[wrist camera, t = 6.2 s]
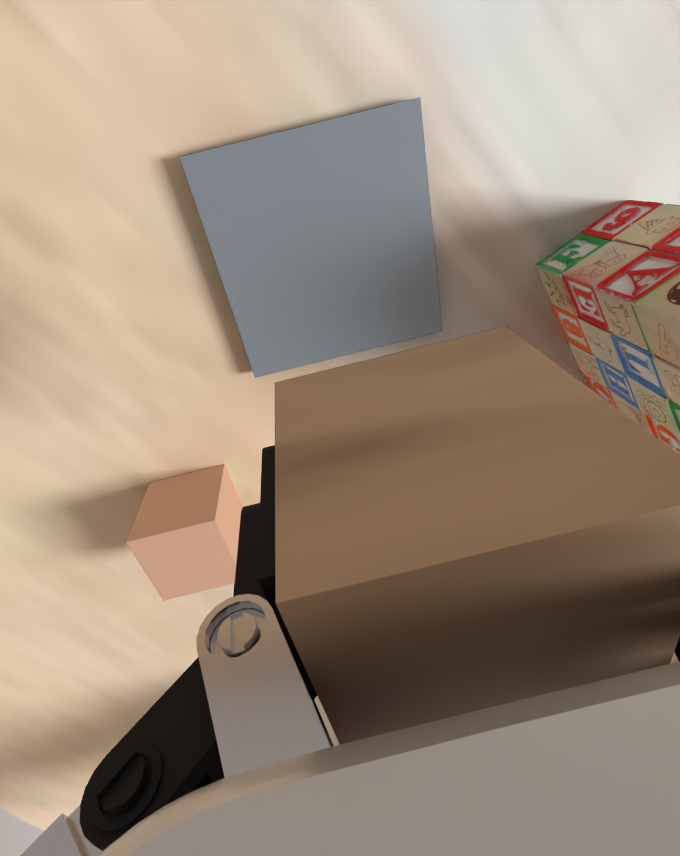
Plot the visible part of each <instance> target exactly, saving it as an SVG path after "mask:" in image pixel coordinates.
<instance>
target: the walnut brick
mask: <svg viewBox="0 0 680 856" xmlns="http://www.w3.org/2000/svg"><path fill="white" fill-rule="evenodd" d="M275 582H276V605H277V608H278V610H279V612H280V614H281V616H282V619H283V621H284V623H285V625H286V627H287V630H288V632H289V634H290V636H291V638H292V641H293V643H294V645H295V647H296V649H297V652H298V654H299V656H300V658H301V660H302V663H303V665H304V667H305V669H306V671H307V674H308V676H309V678H310V680H311V682H312V685H313V687H314V689H315V691H316V693H317V696H318V698H319V700H320V702H321V704H322V707H323V709H324V711H325V713H326V715H327V718H328V720H329V722H330V724H331V726H332V729H333V731H334V733H335V735H336V737H337V740H338V742H339V744H340V745H341V744H345V743H349V742H353V741H357V740H361V739H365V738H369V737H373V736H377V735H381V734H385V733H389V732H393V731H397V730H401V729H405V728H409V727H413V726H417V725H421V724H425V723H429V722H433V721H437V720H441V719H445V718H449V717H453V716H457V715H461V714H466V713H470V712H474V711H478V710H482V709H486V708H490V707H494V706H498V705H502V704H506V703H510V702H514V701H519V700H523V699H527V698H531V697H535V696H539V695H543V694H547V693H551V692H556V691H560V690H564V689H568V688H572V687H576V686H580V685H584V684H589V683H593V682H597V681H601V680H605V679H609V678H613V677H617V676H622V675H626V674H630V673H634V672H638V671H642V670H646V669H651V668H655V667H659V666H663V665H667V664H670V662H671V659H672V657H673V654H674V651H675V648H676V645H677V642H678V640H679V637H680V455H679V454H677V453H676V452H675V451H673V450H672V449H671V448H669V447H668V446H667V445H665V444H664V443H663V442H661V441H660V440H659V439H657V438H656V437H655V436H653V435H652V434H650V433H649V432H648V431H646V430H645V429H644V428H642V427H641V426H640V425H638V424H637V423H636V422H634V421H633V420H632V419H630V418H629V417H628V416H626V415H625V414H624V413H622V412H621V411H620V410H618V409H617V408H616V407H614V406H613V405H612V404H610V403H609V402H608V401H606V400H605V399H604V398H602V397H601V396H600V395H598V394H597V393H596V392H594V391H593V390H592V389H590V388H589V387H588V386H586V385H585V384H584V383H582V382H581V381H580V380H578V379H577V378H576V377H574V376H573V375H572V374H570V373H569V372H567V371H566V370H565V369H563V368H562V367H561V366H559V365H558V364H557V363H555V362H554V361H553V360H551V359H550V358H549V357H547V356H546V355H545V354H543V353H542V352H541V351H539V350H538V349H537V348H535V347H534V346H533V345H531V344H530V343H529V342H527V341H526V340H525V339H523V338H522V337H521V336H519V335H518V334H517V333H515V332H514V331H513V330H511V329H510V328H509V327H507V326H504V327H500V328H496V329H492V330H488V331H484V332H480V333H476V334H471V335H467V336H463V337H459V338H455V339H451V340H447V341H443V342H439V343H435V344H431V345H427V346H422V347H418V348H414V349H410V350H406V351H402V352H398V353H394V354H390V355H386V356H382V357H378V358H373V359H369V360H365V361H361V362H357V363H353V364H349V365H345V366H341V367H337V368H333V369H329V370H324V371H320V372H316V373H312V374H308V375H304V376H300V377H296V378H292V379H288V380H284V381H280V382H275Z"/></svg>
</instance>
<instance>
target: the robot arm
mask: <svg viewBox="0 0 680 856" xmlns="http://www.w3.org/2000/svg"><path fill="white" fill-rule="evenodd" d="M197 652H198V658H197V659H196V660H195V661H194V662H193V664H192V665H191V666H190V667H189V668H188V669H187V670H186V671H185V672H184V673H183V674H182V675H181V676H180V677H179V678H178V680H177V681H176V682H175V683H174V684H173V685H172V686H171V687H170V688H169V689H168V690H167V691H166V692H165V693H164V695H163V696H162V697H161V698H160V699H159V700H158V701H157V702H156V703H155V704H154V705H153V706H152V707H151V708H150V709H149V711H148V712H147V713H146V714H145V715H144V716H143V717H142V718H141V719H140V720H139V721H138V722H137V723H136V724H135V725H134V727H133V728H132V729H131V730H130V731H129V732H128V733H127V734H126V735H125V736H124V737H123V738H122V739H121V740H120V741H119V743H118V744H117V745H116V746H115V747H114V748H113V749H112V750H111V751H110V752H109V753H108V754H107V755H106V757H105V758H104V759H103V760H102V762H101V763H100V764H99V766H98V767H97V768H96V769H95V771H94V773H93V774H92V776H91V778H90V780H89V782H88V784H87V786H86V788H85V791H84V794H83V798H82V801H81V805H80V806H79V807H78V808H77V809H76V810H75V811H74V812H73V813H72V814H71V815H70V816H69V817H67V816H66V815H64V814H63V813H62V814H61V815H60V816H59V817H58V818H57V819H56V820H55V821H54V822H53V823H52V824H51V825H50V826H49V827H48V828H47V829H46V830H45V831H44V832H43V833H42V834H41V835H40V836H39V837H38V839H37V840H35V842H34V843H33V844H32V845H31V846H30V847H29V848H28V849H27V850H26V851H25V852H24V853H23V854H22V855H21V856H680V637H679V640H678V642H677V645H676V648H675V651H674V654H673V657H672V659H671V662H670V664H667V665H663V666H659V667H655V668H651V669H646V670H642V671H638V672H634V673H630V674H626V675H622V676H617V677H613V678H609V679H605V680H601V681H597V682H593V683H589V684H584V685H580V686H576V687H572V688H568V689H564V690H560V691H556V692H551V693H547V694H543V695H539V696H535V697H531V698H527V699H523V700H519V701H514V702H510V703H506V704H502V705H498V706H494V707H490V708H486V709H482V710H478V711H474V712H470V713H466V714H461V715H457V716H453V717H449V718H445V719H441V720H437V721H433V722H429V723H425V724H421V725H417V726H413V727H409V728H405V729H401V730H397V731H393V732H389V733H385V734H381V735H377V736H373V737H369V738H365V739H361V740H357V741H353V742H349V743H345V744H341V745H340V744H339V742H338V740H337V737H336V735H335V733H334V731H333V729H332V726H331V724H330V722H329V720H328V718H327V715H326V713H325V711H324V709H323V707H322V704H321V702H320V700H319V698H318V696H317V693H316V691H315V689H314V687H313V685H312V682H311V680H310V678H309V676H308V674H307V671H306V669H305V667H304V665H303V663H302V660H301V658H300V656H299V654H298V652H297V649H296V647H295V645H294V643H293V641H292V638H291V636H290V634H289V632H288V630H287V627H286V625H285V623H284V621H283V619H282V616H281V614H280V612H279V610H278V608H277V605H276V582H275V445H274V446H270V447H266V448H263V450H262V473H261V500H260V503H258V504H254V505H250V506H245V507H243V508H242V510H241V517H240V528H239V540H238V551H237V562H236V573H235V584H234V596H233V597H232V598H229V599H226V600H225V601H223V602H222V603H220V604H219V605H217V606H216V607H215V608H214V609H213V610H212V611H211V612H210V613H209V614H208V615H207V616H206V618H205V620H204V621H203V623H202V624H201V626H200V629H199V632H198V635H197Z"/></svg>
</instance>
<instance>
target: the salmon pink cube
mask: <svg viewBox="0 0 680 856" xmlns="http://www.w3.org/2000/svg"><path fill="white" fill-rule="evenodd" d="M242 508H243V506H242V504H241V502H240V499H239V497H238V495H237V492H236V490H235V488H234V485H233V483H232V481H231V478H230V476H229V474H228V471H227V469H226V467H225V464H222V465H218V466H214V467H210V468H206V469H202V470H198V471H194V472H190V473H186V474H182V475H178V476H174V477H170V478H166V479H162V480H158V481H154V482H150V483H149V485H148V488H147V490H146V493H145V495H144V498H143V500H142V503H141V506H140V508H139V511H138V513H137V516H136V518H135V521H134V523H133V526H132V528H131V531H130V533H129V536H128V538H127V541H126V543H127V545H128V546H129V548H130V549H131V551H132V553H133V554H134V556H135V557H136V559H137V560H138V562H139V563H140V565H141V567H142V568H143V570H144V571H145V573H146V574H147V576H148V577H149V579H150V580H151V582H152V584H153V585H154V587H155V588H156V590H157V591H158V593H159V594H160V596H161V598H162V599H163V601H164V600H168V599H172V598H176V597H180V596H184V595H188V594H192V593H196V592H200V591H204V590H208V589H212V588H216V587H220V586H224V585H228V584H232V583H235V573H236V562H237V551H238V540H239V528H240V517H241V510H242Z"/></svg>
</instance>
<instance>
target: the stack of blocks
mask: <svg viewBox="0 0 680 856" xmlns="http://www.w3.org/2000/svg"><path fill="white" fill-rule="evenodd" d="M536 268H537V271H538V273H539V275H540V277H541V280H542V282H543V284H544V286H545V289H546V291H547V293H548V296H549V298H550V300H551V302H552V308H553V310H554V312H555V315H556V317H557V319H558V321H559V324H560V326H561V328H562V330H563V332H564V335H565V337H566V339H567V340H568V344H569V346H570V348H571V351H572V353H573V355H574V357H575V360H576V362H577V364H578V366H579V368H580V370H581V372H582V373H584V374H585V378H586V379H587V382H588V383H589V386H590V388H591V389H592V390H593V391H594V392H596V393H597V394H598V395H600V396H601V397H602V398H604V399H605V400H606V401H608V402H609V403H610V404H612V405H613V406H614V407H616V408H617V409H618V410H620V411H621V412H622V413H624V414H625V415H626V416H628V417H629V418H630V419H632V420H633V421H634V422H636V423H637V424H638V425H640V426H641V427H642V428H644V429H645V430H646V431H648V432H649V433H650V434H652V435H653V436H655V437H656V438H657V439H659V440H660V441H661V442H663V443H664V444H665V445H667V446H668V447H669V448H671V449H672V450H673V451H675V452H676V453H677V454H679V455H680V205H671V204H663V203H657V202H643V201H634V200H627V201H625V202H623V203H622V204H621V205H619V206H618V207H616V208H615V209H613V210H612V211H611V212H609V213H608V214H606V215H605V216H604V217H602V218H601V219H599V220H598V221H597V222H595V223H594V224H592V225H591V226H589V227H588V228H587V229H585V230H584V231H582V232H581V234H579V235H578V236H577V237H575V238H574V239H572V240H571V241H569V242H568V243H567V244H565V245H564V246H562V247H561V248H559V249H558V250H557V251H555V252H554V253H552V254H551V255H549V256H548V257H547V258H545V259H544V260H542V261H541V262H539V263H538V264H537V265H536Z"/></svg>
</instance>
